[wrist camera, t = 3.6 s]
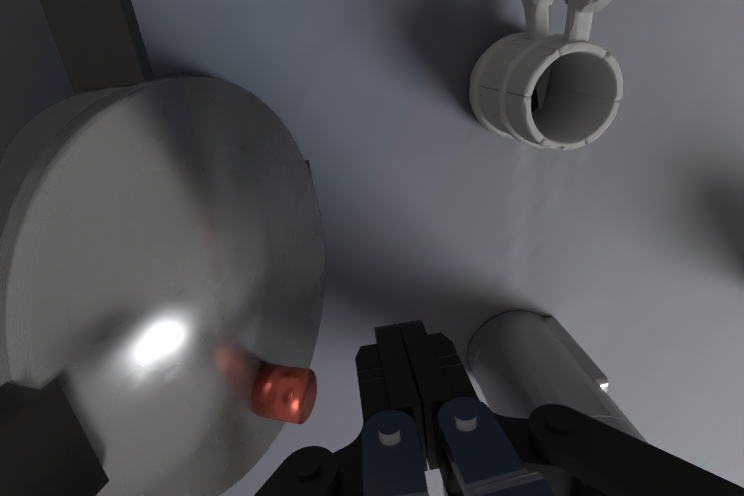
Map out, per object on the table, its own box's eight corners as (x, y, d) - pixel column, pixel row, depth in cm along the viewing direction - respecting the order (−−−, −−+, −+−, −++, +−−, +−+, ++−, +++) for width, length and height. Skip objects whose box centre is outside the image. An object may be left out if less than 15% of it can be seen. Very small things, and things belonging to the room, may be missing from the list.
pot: (286, -10, 32) (271, -36, 21) (338, 293, 43) (346, 379, 32) (32, 22, 31) (-119, 10, 20) (149, 323, 42) (89, 423, 31)
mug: (460, 135, 38) (519, 173, 27) (472, -31, 33) (549, -67, 22) (549, 133, 39) (640, 168, 28) (573, -30, 34) (696, -65, 23)
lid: (264, 61, 23) (329, 53, 22) (319, 331, 30) (370, 337, 29) (-501, 192, 6) (-401, 189, 5) (28, 743, 13) (124, 798, 12)
